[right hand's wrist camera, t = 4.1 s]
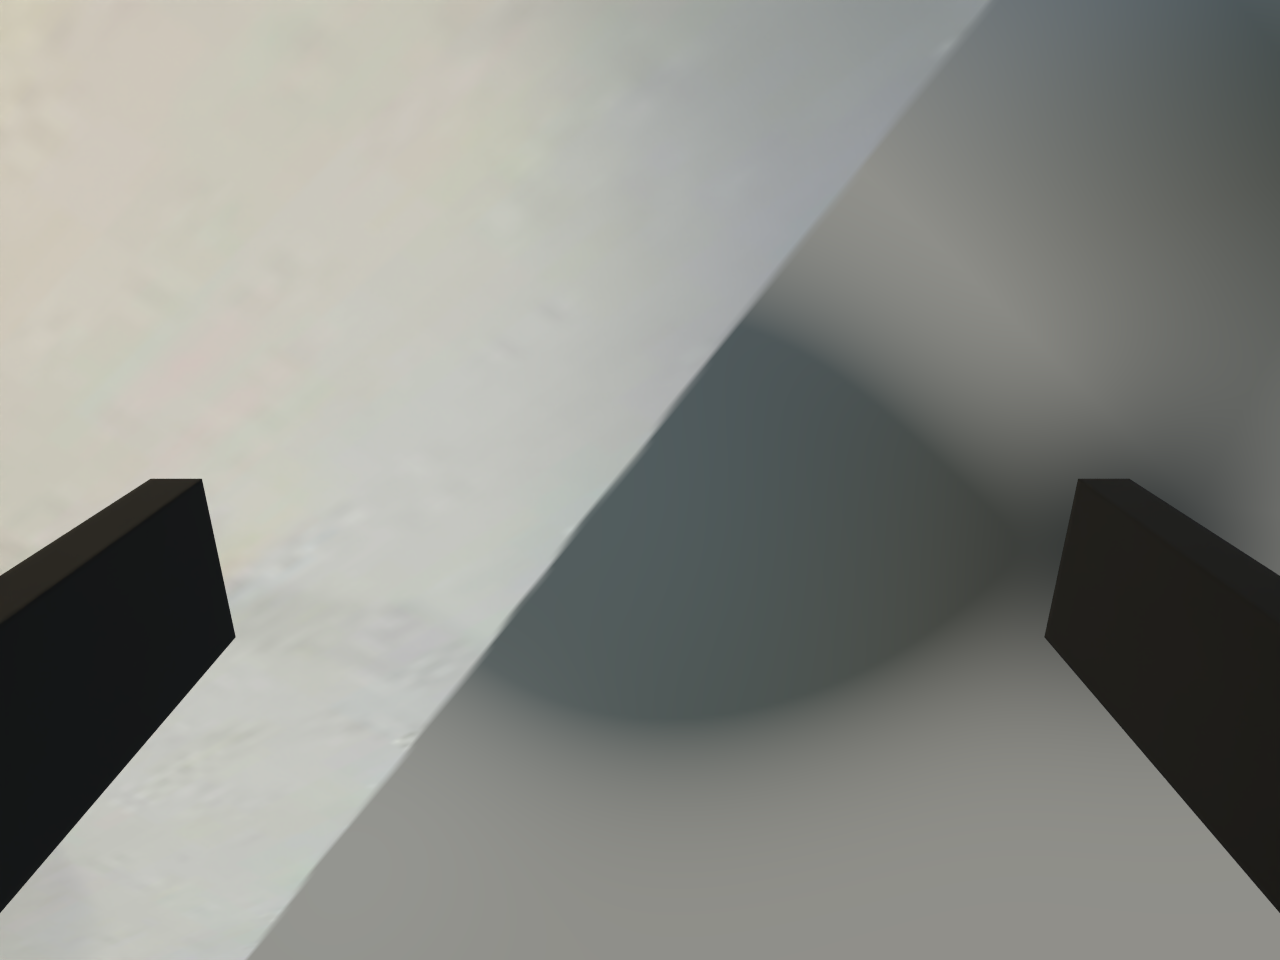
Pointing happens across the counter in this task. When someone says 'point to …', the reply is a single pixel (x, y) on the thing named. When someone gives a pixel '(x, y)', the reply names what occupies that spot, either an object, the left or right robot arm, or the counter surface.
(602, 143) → the counter surface
